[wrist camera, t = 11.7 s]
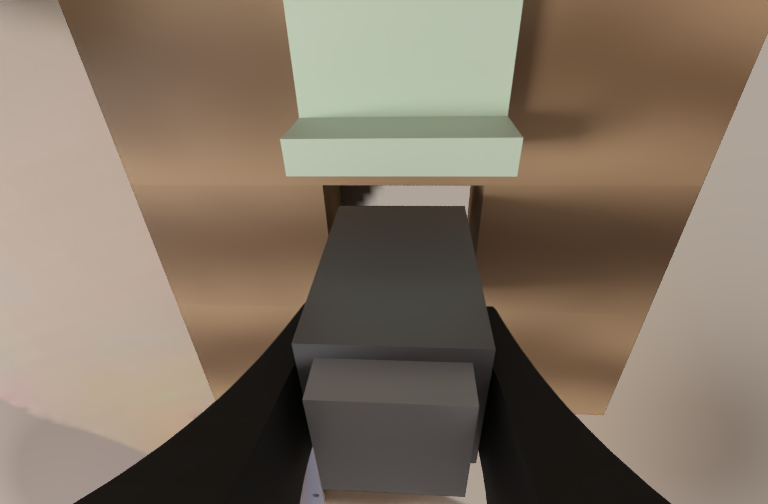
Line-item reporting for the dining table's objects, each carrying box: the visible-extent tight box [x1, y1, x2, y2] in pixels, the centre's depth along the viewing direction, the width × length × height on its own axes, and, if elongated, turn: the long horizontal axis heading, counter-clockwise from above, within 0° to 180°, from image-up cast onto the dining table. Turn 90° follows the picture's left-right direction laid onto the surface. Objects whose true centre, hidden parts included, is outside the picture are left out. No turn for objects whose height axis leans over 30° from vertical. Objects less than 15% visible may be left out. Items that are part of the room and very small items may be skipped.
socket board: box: [58, 0, 768, 415], centre depth 16 cm, size 18×19×3 cm
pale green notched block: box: [280, 0, 523, 177], centre depth 10 cm, size 6×6×3 cm
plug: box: [291, 206, 496, 497], centre depth 11 cm, size 4×4×7 cm
